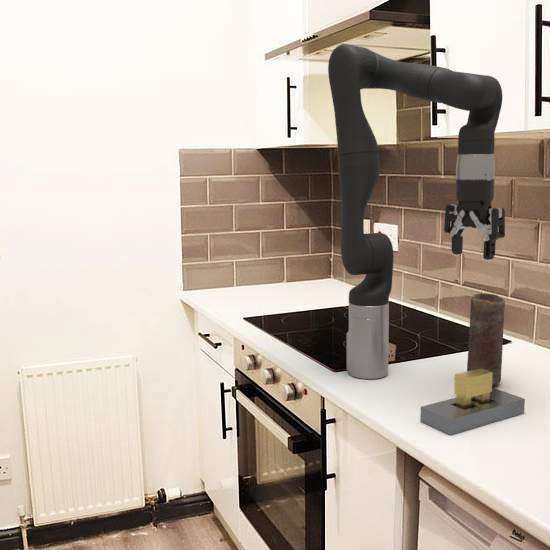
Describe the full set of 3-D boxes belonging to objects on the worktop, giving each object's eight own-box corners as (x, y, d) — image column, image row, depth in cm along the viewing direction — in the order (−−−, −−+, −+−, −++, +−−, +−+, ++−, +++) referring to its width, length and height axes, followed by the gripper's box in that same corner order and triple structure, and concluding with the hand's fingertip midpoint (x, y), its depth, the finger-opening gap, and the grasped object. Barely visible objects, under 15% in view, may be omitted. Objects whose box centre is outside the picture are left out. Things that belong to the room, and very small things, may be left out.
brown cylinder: (495, 377, 160) (498, 292, 157) (506, 388, 153) (510, 299, 150) (462, 378, 160) (464, 293, 157) (472, 389, 153) (475, 300, 149)
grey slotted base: (420, 421, 136) (420, 406, 135) (492, 401, 146) (493, 387, 145) (450, 435, 129) (450, 419, 128) (524, 413, 139) (524, 398, 138)
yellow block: (453, 416, 137) (455, 374, 135) (479, 408, 140) (481, 368, 139) (465, 420, 134) (466, 378, 133) (491, 413, 138) (492, 372, 136)
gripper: (436, 177, 145) (434, 254, 148) (489, 178, 133) (486, 262, 136) (462, 175, 149) (460, 251, 151) (516, 177, 137) (512, 259, 139)
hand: (472, 256), depth 144 cm, fingers open, 8 cm apart
